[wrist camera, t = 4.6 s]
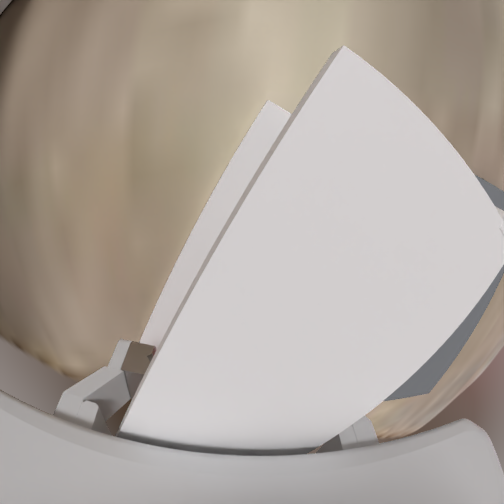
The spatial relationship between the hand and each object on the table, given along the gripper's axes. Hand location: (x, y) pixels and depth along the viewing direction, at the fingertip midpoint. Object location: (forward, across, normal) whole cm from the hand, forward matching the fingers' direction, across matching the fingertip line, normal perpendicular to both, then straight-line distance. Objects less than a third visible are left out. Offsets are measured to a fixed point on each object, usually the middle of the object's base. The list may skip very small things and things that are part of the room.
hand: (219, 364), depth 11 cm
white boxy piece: (+5, 0, 0) cm, 5 cm away
